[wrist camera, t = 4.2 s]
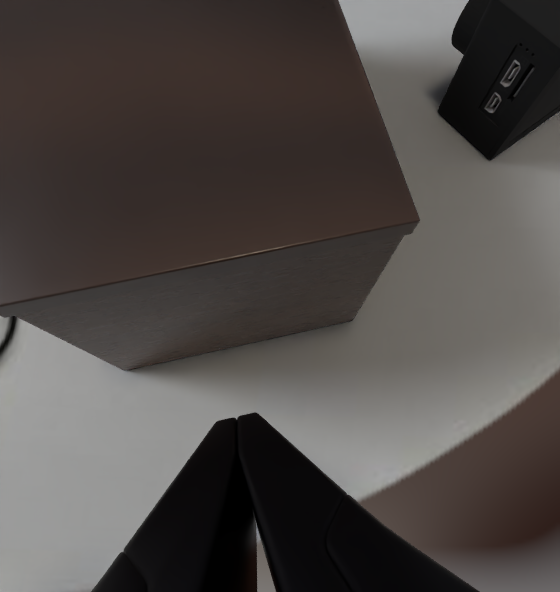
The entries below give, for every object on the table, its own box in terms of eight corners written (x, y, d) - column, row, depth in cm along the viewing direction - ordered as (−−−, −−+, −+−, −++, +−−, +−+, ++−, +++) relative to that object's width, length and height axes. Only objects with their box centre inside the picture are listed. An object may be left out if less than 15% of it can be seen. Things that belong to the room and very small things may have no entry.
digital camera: (542, 19, 28) (626, -116, 21) (611, 73, 26) (724, -53, 20) (421, 98, 25) (472, -24, 19) (489, 161, 24) (570, 53, 17)
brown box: (356, 322, 21) (421, 220, 12) (121, 373, 20) (-15, 309, 11) (273, 42, 27) (271, -179, 17) (88, 72, 26) (-20, -144, 16)
